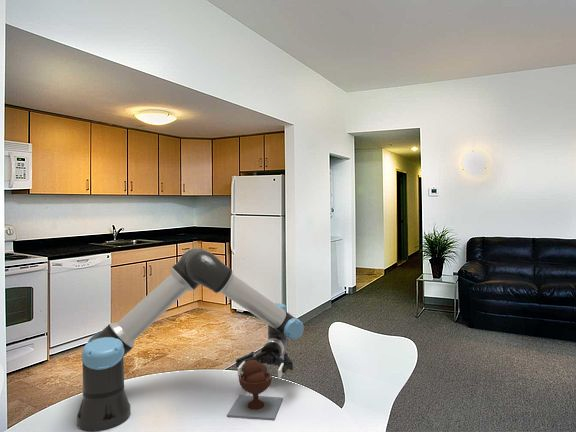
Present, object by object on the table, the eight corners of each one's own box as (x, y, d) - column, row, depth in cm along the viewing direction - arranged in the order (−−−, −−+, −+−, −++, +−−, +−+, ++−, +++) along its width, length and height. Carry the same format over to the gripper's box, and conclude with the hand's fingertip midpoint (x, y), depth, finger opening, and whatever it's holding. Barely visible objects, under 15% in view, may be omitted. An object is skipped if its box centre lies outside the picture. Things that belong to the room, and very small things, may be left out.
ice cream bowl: (268, 415, 124) (267, 366, 124) (234, 412, 126) (233, 364, 126) (276, 399, 134) (275, 354, 134) (244, 396, 137) (243, 352, 136)
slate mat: (226, 416, 124) (226, 414, 124) (239, 396, 138) (239, 394, 138) (274, 420, 122) (274, 418, 122) (282, 399, 136) (282, 397, 136)
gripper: (305, 362, 151) (296, 387, 130) (240, 359, 155) (222, 382, 134) (304, 342, 151) (296, 363, 130) (240, 340, 155) (222, 360, 134)
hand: (258, 373), depth 132 cm, fingers open, 13 cm apart
